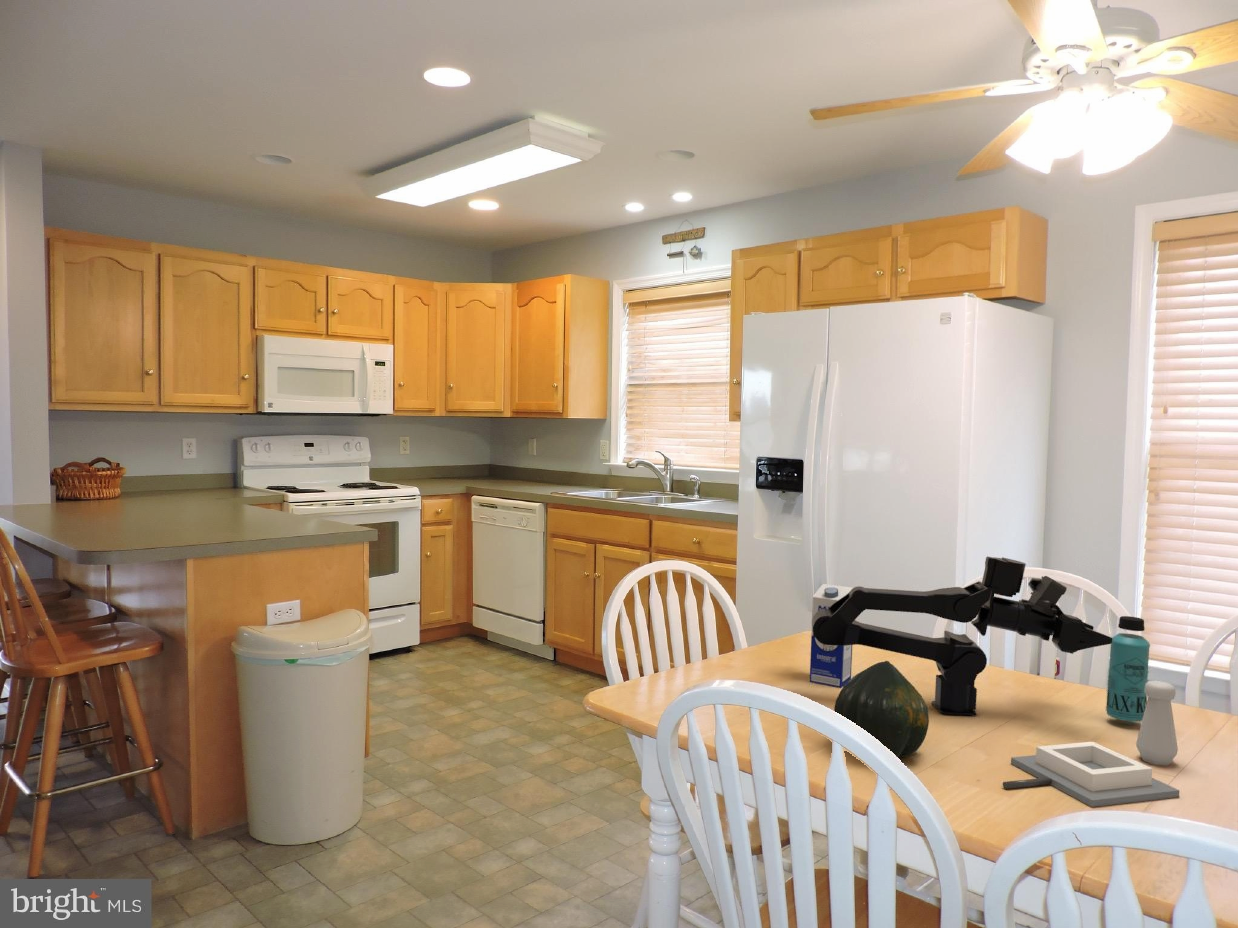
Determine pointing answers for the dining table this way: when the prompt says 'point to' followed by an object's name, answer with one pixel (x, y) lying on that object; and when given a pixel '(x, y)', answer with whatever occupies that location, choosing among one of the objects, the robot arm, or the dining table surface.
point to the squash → (886, 708)
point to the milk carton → (829, 660)
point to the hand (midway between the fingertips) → (1102, 634)
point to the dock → (1091, 774)
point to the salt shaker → (1158, 725)
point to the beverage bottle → (1128, 672)
